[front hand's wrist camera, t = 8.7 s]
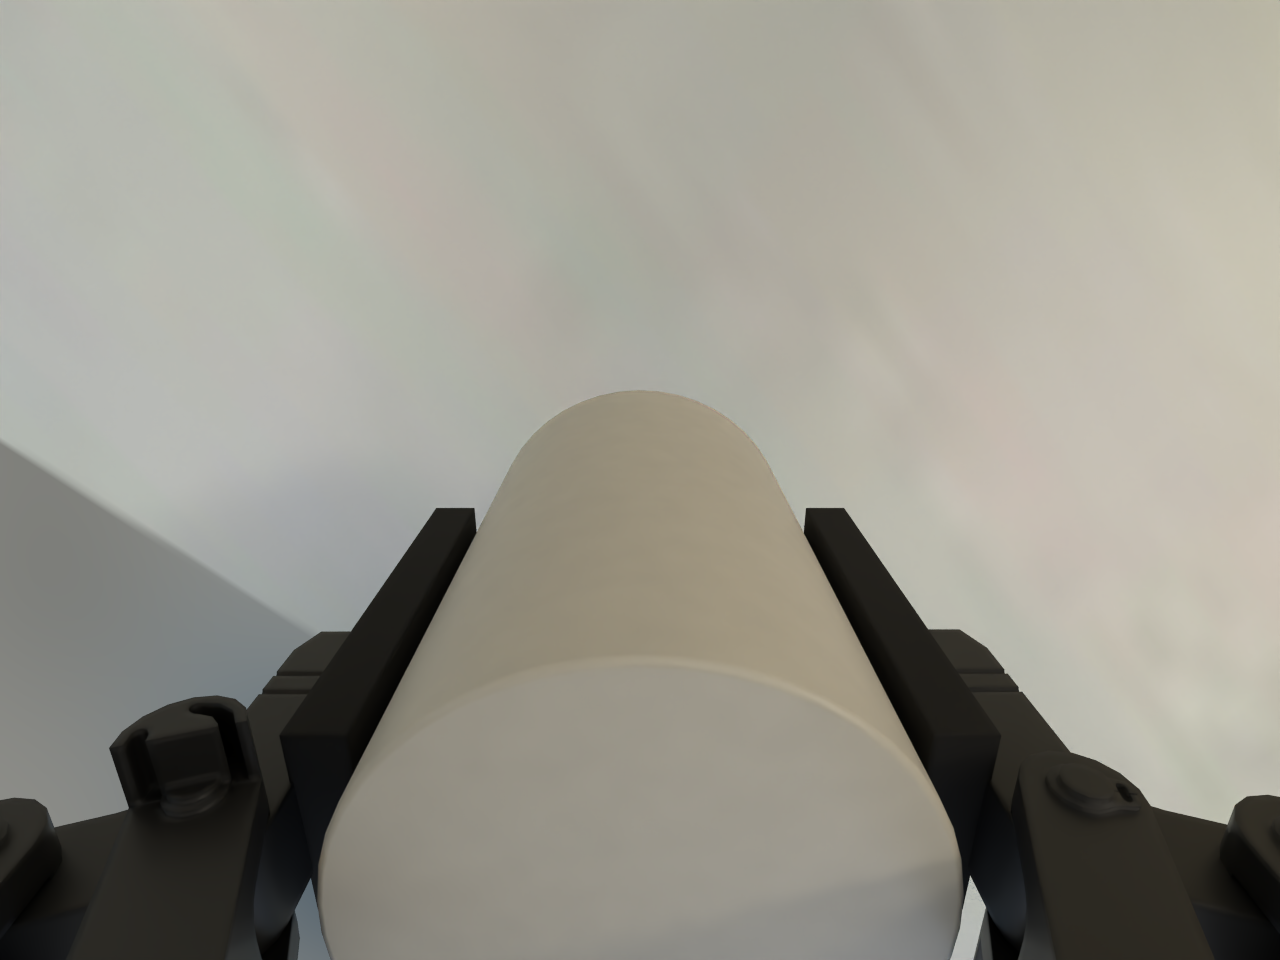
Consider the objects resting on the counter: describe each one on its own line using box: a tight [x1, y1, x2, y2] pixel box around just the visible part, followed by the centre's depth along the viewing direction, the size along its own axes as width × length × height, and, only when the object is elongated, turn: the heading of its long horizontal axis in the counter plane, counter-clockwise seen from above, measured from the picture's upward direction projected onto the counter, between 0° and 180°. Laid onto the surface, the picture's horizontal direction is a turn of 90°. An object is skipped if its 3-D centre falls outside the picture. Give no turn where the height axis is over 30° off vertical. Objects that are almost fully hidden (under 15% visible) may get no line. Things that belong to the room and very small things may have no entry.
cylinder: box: [317, 390, 964, 960], centre depth 12 cm, size 7×7×10 cm
